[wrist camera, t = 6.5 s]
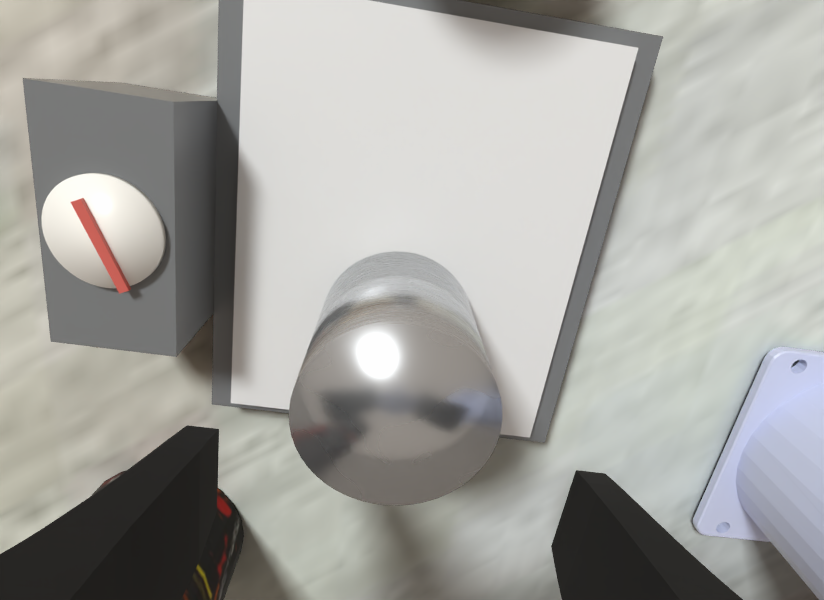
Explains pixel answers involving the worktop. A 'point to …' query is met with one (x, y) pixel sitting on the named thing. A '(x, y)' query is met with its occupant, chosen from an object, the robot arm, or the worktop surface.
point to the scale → (341, 184)
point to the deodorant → (214, 552)
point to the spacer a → (395, 385)
